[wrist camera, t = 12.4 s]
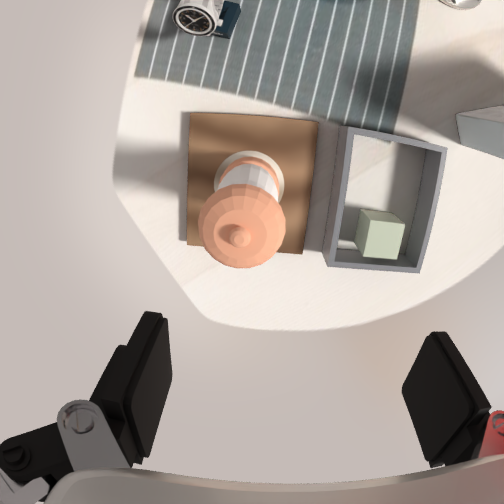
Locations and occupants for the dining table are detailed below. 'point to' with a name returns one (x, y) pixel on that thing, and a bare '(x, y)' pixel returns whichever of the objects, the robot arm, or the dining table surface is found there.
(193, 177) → the serving board
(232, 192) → the pepper shaker
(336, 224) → the bin
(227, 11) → the watch
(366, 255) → the sage block
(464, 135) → the skincare box
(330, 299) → the dining table surface
